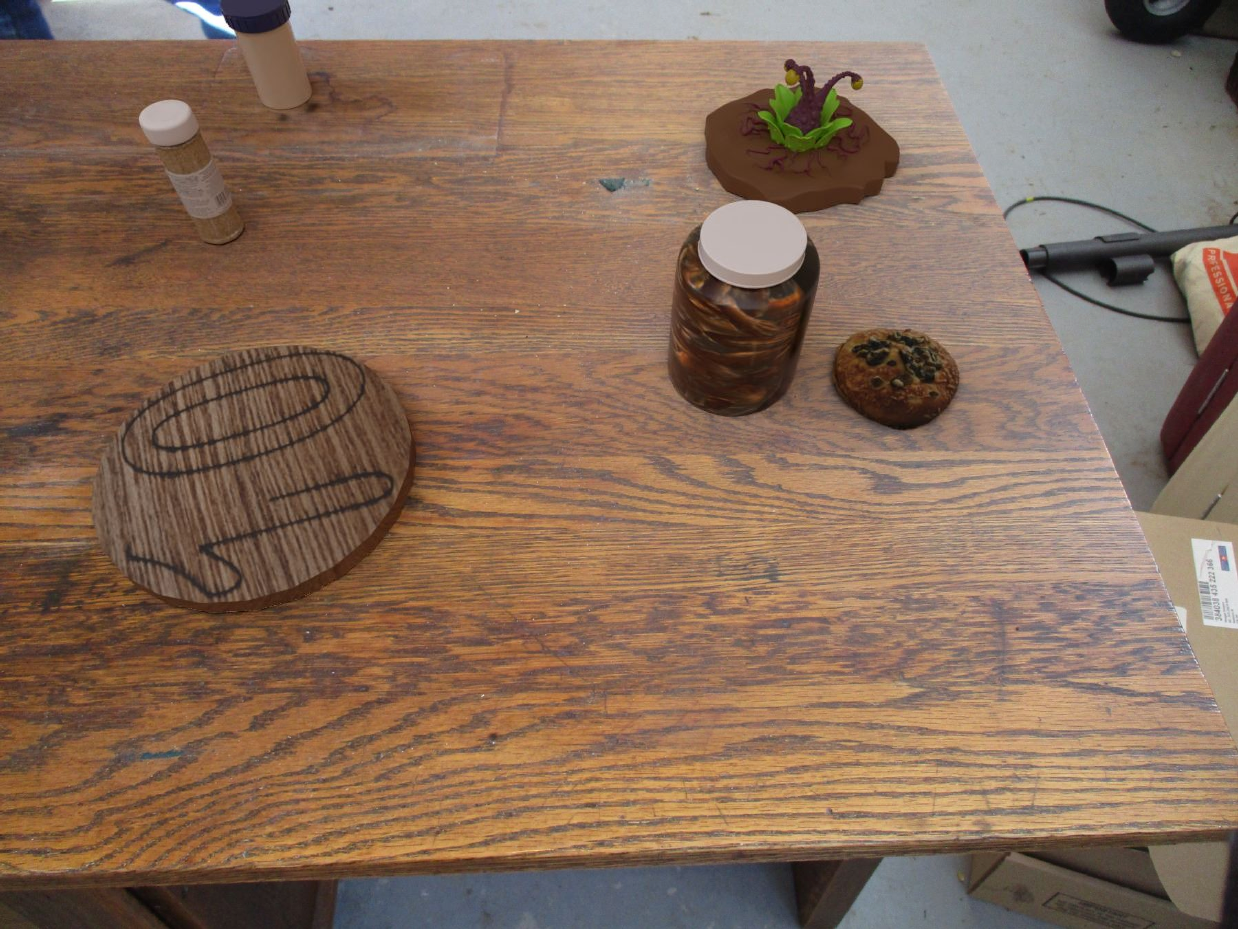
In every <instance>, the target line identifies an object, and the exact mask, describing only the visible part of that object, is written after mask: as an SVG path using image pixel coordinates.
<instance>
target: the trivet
mask: <svg viewBox="0 0 1238 929" xmlns="http://www.w3.org/2000/svg"><path fill="white" fill-rule="evenodd" d="M414 441H415V440H414V437H413V433H412V429H411V425H410V421H409V417H408V415H407V412H406V409H405V407H404V405H403V403H402V401H401V400H400V399H399V397H398V395H397V394H396V393H395V391H394V390H393V388H392V387H391V385H390V384H389V382H388V381H386V380H385V378H383V377H382V376H380V375H379V374H378V373H377V372H376V371H374V370H373V369H372V368H370V367H369V366H368V365H366V364H365V363H364V362H361V361H359V360H357V359H354V358H353V357H349V356H347V355H344V354H342V353H340V352H337V351H335V350H332V349H331V350H330V349H325V348H318V347H312V346H306V345H302V344H301V345H300V344H296V345H295V344H294V345H274V346H273V345H271V346H259V347H254V348H251V349H246V350H242V351H238V352H233V353H228V354H224V355H222V356H219V357H217V358H214V359H212V360H210V361H207V362H205V363H203V364H201V365H198V366H195V367H193V368H190V369H189V370H187V371H184V372H183V373H182V374H180V375H178V376H177V377H176V378H174V379H173V380H170V381H169V382H167V383H166V384H165V385H164V386H161V387H160V388H158V389H157V390H156V391H154V392H153V393H152V394H151V395H149V396H148V397H147V398H146V400H144V401H143V402H142V403H141V404H140V405H139V406H138V407H137V408H136V409H134V411H133V412H132V413H130V415H129V416H127V418H126V419H124V421H123V422H122V423H121V425H120V427H119V429H118V430H117V431H116V433H115V434H114V436H113V437H112V439H111V440H110V441H109V443H108V445H107V446H106V448H105V449H104V451H103V453H102V456H101V459H100V461H99V465H98V467H97V470H96V473H95V476H94V478H93V482H92V485H91V487H92V488H91V523H92V524H93V527H94V530H95V533H96V536H97V539H98V541H99V544H100V547H101V549H102V552H104V554H105V555H106V556H107V557H108V559H110V560H111V562H112V563H113V564H114V565H115V566H116V567H117V568H118V569H119V571H120V572H121V573H122V574H123V575H124V576H125V577H126V579H128V580H129V581H130V582H131V583H132V584H133V585H134V586H136V588H138V589H139V588H140V589H139V590H141V589H142V590H141V591H143V592H145V591H146V592H145V593H146V594H148V595H150V594H151V595H150V596H152V595H153V597H154V596H155V597H154V598H156V597H157V598H156V599H158V598H159V599H158V600H159V601H162V600H163V601H164V602H163V601H162V602H163V603H165V602H166V603H165V604H167V603H168V604H167V605H169V604H171V605H175V606H181V607H186V608H192V609H196V610H201V611H206V612H211V613H212V612H226V611H228V612H229V611H245V610H246V611H249V610H251V611H254V610H259V609H263V608H265V607H270V606H273V607H275V606H274V605H277V606H280V605H281V604H280V603H284V604H286V603H285V602H287V603H289V602H288V601H291V602H293V601H292V600H294V601H296V600H295V599H298V600H300V599H299V598H301V597H303V596H305V595H307V594H309V593H311V594H312V592H313V593H314V592H316V591H318V590H320V589H322V588H323V587H322V586H324V585H326V584H328V583H329V584H331V583H333V582H335V581H337V580H339V579H341V578H343V577H344V576H345V575H346V574H347V573H348V572H349V571H351V570H352V569H353V568H354V567H355V566H356V565H358V564H359V563H360V562H361V561H362V560H363V559H362V558H364V557H365V556H366V555H367V554H368V553H369V552H371V551H372V550H373V549H374V550H376V548H377V547H378V546H379V545H380V543H381V542H382V541H383V539H384V538H385V536H386V535H387V534H388V533H389V531H390V530H391V529H392V527H393V526H394V524H395V523H396V522H397V520H398V519H399V518H400V516H401V513H402V511H403V508H404V506H405V503H406V501H407V499H408V496H409V494H410V491H411V489H412V486H413V484H414V477H415V476H414V475H415V464H416V454H417V450H416V449H417V448H416V445H415V442H414ZM395 521H396V522H395ZM383 537H384V538H383ZM382 538H383V539H382ZM380 541H381V542H380ZM379 542H380V543H379ZM377 545H378V546H377ZM376 546H377V547H376ZM374 550H373V551H374ZM373 551H372V552H373ZM372 552H371V553H372ZM368 555H369V554H368ZM368 555H367V556H368ZM367 556H366V557H367ZM366 557H365V558H366ZM365 558H364V559H365ZM361 559H362V560H361ZM360 560H361V561H360ZM359 561H360V562H359ZM358 562H359V563H358ZM357 563H358V564H357ZM355 564H356V565H355ZM354 565H355V566H354ZM353 566H354V567H353ZM352 567H353V568H352ZM351 568H352V569H351ZM350 569H351V570H350ZM347 571H348V572H347ZM346 572H347V573H346ZM345 573H346V574H345ZM344 574H345V575H344ZM340 577H341V578H340ZM338 578H339V579H338ZM336 579H337V580H336ZM334 580H335V581H334ZM332 581H333V582H332ZM330 582H331V583H330ZM329 584H328V585H329ZM326 586H327V585H326ZM321 587H322V588H321ZM324 587H325V586H324ZM309 595H310V594H309ZM307 596H308V595H307ZM305 597H306V596H305ZM303 598H304V597H303ZM301 599H302V598H301ZM279 604H280V605H279ZM171 605H170V606H171ZM175 606H174V607H175ZM270 608H271V607H270ZM263 610H264V609H263ZM259 611H260V610H259Z"/></svg>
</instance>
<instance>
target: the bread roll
mask: <svg viewBox="0 0 1238 929" xmlns="http://www.w3.org/2000/svg"><path fill="white" fill-rule="evenodd" d="M832 367H833V369H832V374H831V378H832V381H833V383H834V385H835V389H836V392H838V394H839V396H841V398H842V399H843V401H844V402H845V403H846V404H848V405H849V406H851V407H852V408H853V409H854V410H856V411H857V413H859V414H861V415H863V416H864V417H866V418H868V419H870V420H871V421H874V422H877V423H879V424H881V425H883V426H886V427H887V428H891V429H892V430H898V431H901V430H902V431H906V430H914V429H916V428H919V427H921V426H924V425H927V424H929V423H930V422H932V421H933V420H935V419H937V417H939V416H940V415H941V414H942V413H943V412H944V411H945V410H946V409H947V408H948V406H949V405H950V404H951V403H952V401H953V400H954V398H955V396H956V394H957V391H958V389H959V385H960V379H961V377H960V371H959V366H958V364H957V361H956V360H955V358H953V356H952V355H951V353H950V352H949V351H948V350H947V348H945V347H944V346H942V345H941V344H940V343H939V341H937V340H935V339H933V338H932V337H931V336H929V335H927V334H926V333H924V332H919V331H917V330H914V329H912V328H909V327H908V328H906V329H898V328H886V327H875V328H871V329H866V330H863V331H858V332H855V333H852V335H851V336H849V337H848V338H847V339H846V341H845V342H844V341H843V342H841V343H840V345H839V346H838V347H837V352H836V354H835V357H834V359H833V361H832Z"/></svg>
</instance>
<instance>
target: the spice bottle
mask: <svg viewBox="0 0 1238 929" xmlns="http://www.w3.org/2000/svg"><path fill="white" fill-rule="evenodd" d="M138 123H139V125H140V128H141V130H142V131H143V133H144V136H145V138H146V139H147V140H148V142H150V143H151V145H152V146H153V148H154V149H155V152H156V153H157V155H158V157H159V160H160V161H161V163H162V165H163V167H164V171H165V173H166V174H167V176H168V178H169V181H170V182H171V184H172V186H173V188H174V189H175V192H176V194H177V195H178V198H179V199H180V201H181V204H182V205H183V207H184V209H185V210H186V212H187V214H188V215H189V216H190V219H191V220H192V222H193V225H194V226H195V228H196V230H197V234H198V236H199V238H200V239H201V240H202V241H203V242H205V243H208V244H213V245H223V244H226V243H229V242H232V241H234V240H236V239H237V238H238V237H239V236H240V235H241V234H242V232H243V230H244V228H245V226H244V224H245V223H244V220H243V218H242V217H241V216H240V215H239V212H238V211H237V209H236V206H235V204H234V202H233V197H232V195H231V193H230V191H229V189H228V186H227V184H226V182H225V180H224V178H223V176H222V174H221V172H220V169H219V167H218V165H217V163H216V161H215V159H214V156H213V155H212V153H211V152H210V149H209V148H208V146H207V144H206V141H205V140H204V137H203V135H202V133H201V128H200V126H199V122H198V120H197V118H196V116H195V114H194V112H193V110H192V108H191V107H190V105H189V104H188V103H186V102H184V101H183V100H178V99H164V100H163V99H162V100H159V101H156V102H154V103H150V104H149V105H148V106H146V107H145V108H144V109H143V110H142V111H140V113H139V116H138Z"/></svg>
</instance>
